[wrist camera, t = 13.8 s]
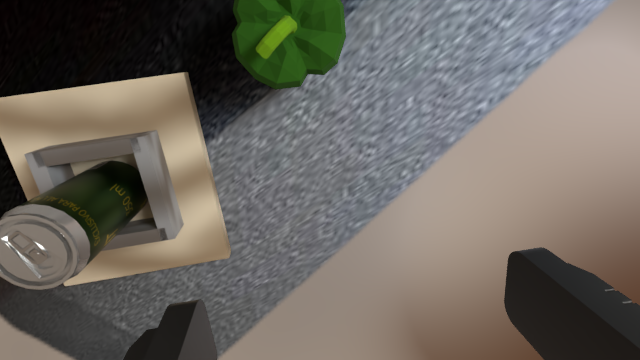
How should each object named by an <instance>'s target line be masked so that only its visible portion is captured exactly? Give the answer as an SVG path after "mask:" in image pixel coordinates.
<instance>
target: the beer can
mask: <svg viewBox="0 0 640 360" xmlns="http://www.w3.org/2000/svg"><path fill="white" fill-rule="evenodd" d="M147 200H148V197H147V194H146V191H145V188H144V184H143V181H142V178H141V175H140V172H139V170H138V169H136V168H135V167H134V166H132V165H129V164H127V163H125V162H121V161H113V160H111V161H105V162H101V163H99V164H97V165H95V166H93V167H91V168H89V169H88V170H86V171H84V172H82V173H80V174H78V175H76V176H74V177H72V178H71V179H69V180H67V181H65V182H63V183H61V184H59V185H57V186H55V187H53V188H52V189H50V190H48V191H46V192H44V193H42V194H40V195H38V196H36V197H35V198H33V199H31V200H29V201H27V202H25V203H23V204H21V205H19V206H18V207H16V208H14V209H12V210H10V211H8V212H6V213H5V214H4V215H3V216H2V217H1V218H0V276H1V277H2V278H4V279H5V280H7V281H9V282H10V283H12V284H14V285H17V286H20V287H24V288H27V289H39V290H42V289H48V288H53V287H56V286H58V285H60V284H62V283H64V282H66V281H67V280H69V279H71V278H73V277H74V276H76V275H78V274H79V273H80V272H81V271H82V270H83V269H84V268H85V267H86V266H87V265H88V264H89V263H90V262H91V261H92V260H93V259H94V258H95V257H96V256H97V255H98V253H99V252H100V251H101V250H102V249H103V248H104V247H105V246H106V245H107V244H108V243H109V242H110V241H111V240H112V239H113V238H114V237H115V236H116V235H117V234H118V233H119V232H120V231H121V230H122V229H123V228H124V227H125V226H126V225H127V224H128V223H129V222H130V221H131V220H132V219H133V218H134V217H135V216H136V215H137V214H138V213H139V211H140V210H141V209H142V208H143V207H144V206H145V205H146V202H147Z"/></svg>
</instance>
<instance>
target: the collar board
mask: <svg viewBox="0 0 640 360" xmlns="http://www.w3.org/2000/svg"><path fill="white" fill-rule="evenodd" d="M0 138H1V140H2V142H3V144H4V147H5V149H6V151H7V154H8V156H9V158H10V161H11V163H12V165H13V168H14V170H15V172H16V174H17V177H18V179H19V181H20V184H21V186H22V188H23V191H24V193H25V195H26V198H27V200H28V201H29V200H31V199H33V198H35V197H36V196H38V195H40V194H42V193H44V192H46V191H48V190H50V189H52V188H53V187H55V186H57V185H59V184H61V183H63V182H65V181H67V180H69V179H71V178H72V177H74V176H76V175H78V174H80V173H82V172H84V171H86V170H88V169H89V168H91V167H93V166H95V165H97V164H99V163H101V162H105V161H111V160H113V161H121V162H125V163H127V164H129V165H132V166H134V167H135V168H136V169H138V170H139V172H140V175H141V178H142V181H143V184H144V188H145V191H146V194H147V197H148V200H147V202H146V205H145V206H144V207H143V208H142V209H141V210H140V211H139V213H138V214H137V215H136V216H135V217H134V218H133V219H132V220H131V221H130V222H129V223H128V224H127V225H126V226H125V227H124V228H123V229H122V230H121V231H120V232H119V233H118V234H117V235H116V236H115V237H114V238H113V239H112V240H111V241H110V242H109V243H108V244H107V245H106V246H105V247H104V248H103V249H102V250H101V251H100V252H99V253H98V255H97V256H96V257H95V258H94V259H93V260H92V261H91V262H90V263H89V264H88V265H87V266H86V267H85V268H84V269H83V270H82V271H81V272H80V273H79V274H78V275H76V276H74V277H73V278H71V279H69V280H67V281H66V282H64V285H65V286H70V285H76V284H82V283H87V282H93V281H99V280H105V279H110V278H116V277H122V276H128V275H133V274H139V273H145V272H151V271H156V270H162V269H168V268H174V267H179V266H185V265H191V264H197V263H202V262H208V261H214V260H220V259H225V258H229V257H230V253H231V248H230V244H229V240H228V236H227V231H226V227H225V223H224V219H223V215H222V211H221V207H220V203H219V199H218V194H217V190H216V186H215V182H214V178H213V174H212V170H211V166H210V161H209V157H208V153H207V149H206V145H205V141H204V137H203V133H202V129H201V124H200V120H199V116H198V112H197V108H196V104H195V100H194V96H193V91H192V87H191V83H190V79H189V75H188V72H183V73H176V74H169V75H162V76H154V77H147V78H140V79H132V80H125V81H118V82H111V83H103V84H96V85H89V86H82V87H74V88H67V89H60V90H53V91H45V92H38V93H31V94H23V95H16V96H9V97H2V98H0Z"/></svg>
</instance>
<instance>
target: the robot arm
mask: <svg viewBox="0 0 640 360" xmlns="http://www.w3.org/2000/svg"><path fill="white" fill-rule="evenodd" d="M504 299H505V300H504V303H505V308H506V312H507V314H508V316H509V319H510V320H511V322H512V324H513V325H514V326H515V327H516V328H517V329H518V331H519V332H520V333H521V334H522V335H523V336H524V337H525V339H526V340H527V341H528V342H529V343H530V344H531V345H532V346H533V348H534V349H535V350H536V351H537V352H538V353H539V354H540V355H541V357H542V358H543V359H544V360H640V306H639V305H638V304H637V303H632V301H631V299H629V298H628V297H626V296H625V295H623V294H622V293H620V292H619V291H615V290H614V288H613V287H612V286H610V285H609V284H607V283H606V282H604V281H603V280H601V279H600V278H598V277H597V276H596V275H594V274H592V273H590V272H587V271H585V270H582V269H580V268H578V267H576V266H573V265H571V264H569V263H568V264H567V263H566V262H564V261H563V260H561V259H560V258H559V257H557V256H556V255H554V254H553V253H552V252H550V251H549V250H547V249H545V248H534V249H528V250H522V251H515V252H512V253H511V254H510V255H509V258H508V266H507V277H506V287H505V298H504ZM123 360H217V351H216V346H215V342H214V338H213V334H212V330H211V326H210V323H209V319H208V315H207V311H206V307H205V304H204V302H203V301H202V300H194V301H188V302H181V303H175V304H170V305H169V306H168V307H167V309H166V311H165V313H164V315H163V317H162V320H161V322H160V324H159V326H158V328H155V329H149V330H146V331H145V332H144V333H143V334H142V336H141V337H140V338H139V339H138V340H137V341H136V342H135V343H134V344H133V345H132V346H131V347H130V348H129V350H128V351H127V353H126V355H125V357H124V359H123Z"/></svg>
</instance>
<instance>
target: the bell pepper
mask: <svg viewBox="0 0 640 360" xmlns="http://www.w3.org/2000/svg"><path fill="white" fill-rule="evenodd" d="M233 13H234V15H235V17H236V20H237V22H238V24H237V26H236V27H235V29H234V31H233V33H232V38H233V44H234V49H235V54H236V58H237V59H238V61H239V62H240V63H241V64H242V65H243V66H244V67H245V68H246V69H247V71H248V72H249V73H250V74H251V75H252V76H253V77H254V78H255V79H256V80H258V81H260V82H262V83H264V84H266V85H268V86H270V87H272V88H274V89H283V88H291V87H299V86H301V85H302V83H303V81H304V79H305V78H306V76H307V74H319V75H324V74H325V73H327V72H328V71H329V70H330V69H331V68H332V67H333V66H335V65H336V64H337V63H338V59H339V56H340V53H341V50H342V47H343V44H344V41H345V37H346V33H345V20H344V7H343V4H342V2H341V1H340V0H235V1H234V6H233Z"/></svg>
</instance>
